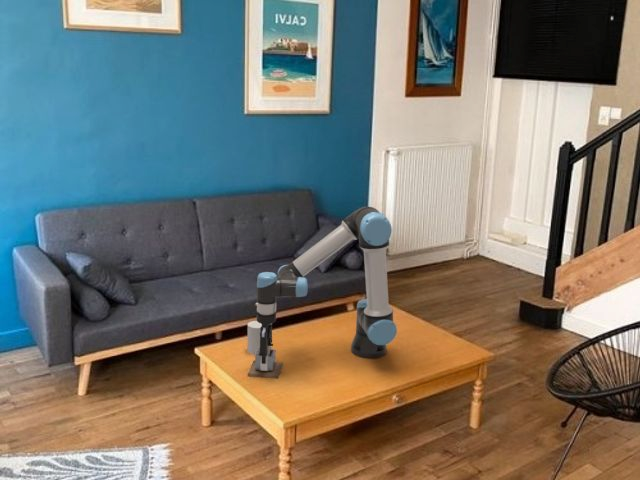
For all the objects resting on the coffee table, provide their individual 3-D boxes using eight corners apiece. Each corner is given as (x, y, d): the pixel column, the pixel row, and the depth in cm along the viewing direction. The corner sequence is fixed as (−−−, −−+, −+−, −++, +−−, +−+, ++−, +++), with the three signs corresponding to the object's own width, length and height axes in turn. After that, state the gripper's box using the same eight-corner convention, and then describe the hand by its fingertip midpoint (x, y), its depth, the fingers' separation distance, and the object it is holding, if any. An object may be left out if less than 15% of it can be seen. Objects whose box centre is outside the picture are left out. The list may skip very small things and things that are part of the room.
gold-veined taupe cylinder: (263, 355, 284) (263, 329, 280) (244, 353, 285) (245, 326, 282) (268, 347, 291) (269, 321, 288) (250, 345, 293) (250, 319, 290)
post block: (282, 365, 275) (283, 341, 273) (278, 378, 264) (278, 354, 261) (253, 362, 277) (253, 339, 274) (247, 376, 265) (247, 352, 262)
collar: (275, 363, 273) (275, 349, 271) (272, 371, 266) (272, 357, 265) (258, 362, 273) (258, 348, 272) (254, 369, 267) (255, 355, 265)
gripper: (261, 302, 274) (261, 354, 280) (251, 320, 254) (251, 376, 260) (280, 303, 273) (279, 356, 279) (271, 322, 254) (270, 378, 260)
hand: (265, 365), depth 270 cm, fingers closed on collar, 7 cm apart
